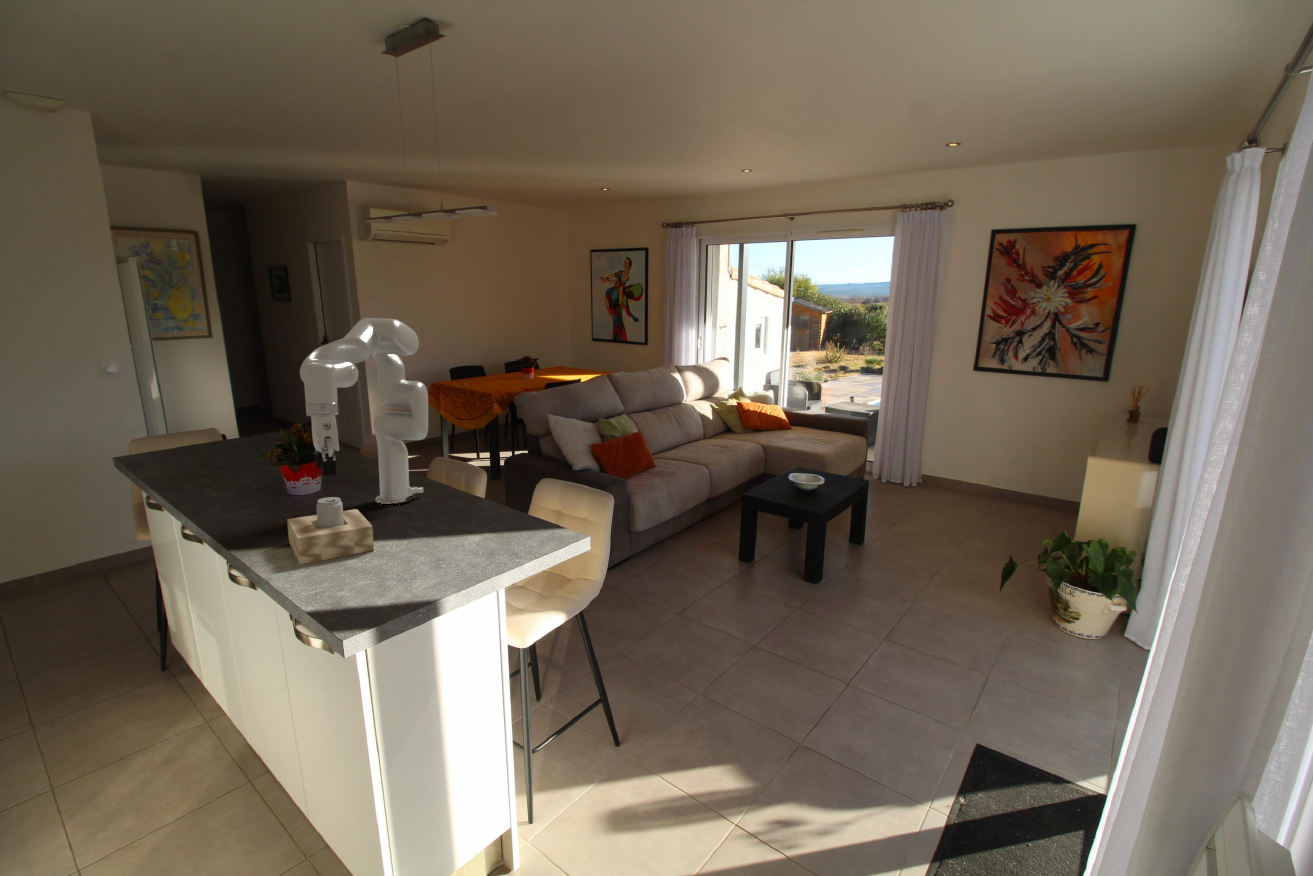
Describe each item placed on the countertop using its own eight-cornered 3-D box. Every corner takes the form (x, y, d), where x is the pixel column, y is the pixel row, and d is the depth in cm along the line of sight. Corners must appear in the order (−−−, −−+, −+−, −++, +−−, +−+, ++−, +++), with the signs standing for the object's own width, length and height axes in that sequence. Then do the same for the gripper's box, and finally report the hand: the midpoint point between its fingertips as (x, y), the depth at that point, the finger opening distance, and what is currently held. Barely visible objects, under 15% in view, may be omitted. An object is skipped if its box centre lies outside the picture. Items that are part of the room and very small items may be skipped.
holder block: (358, 531, 183) (356, 509, 181) (373, 550, 169) (372, 526, 168) (289, 543, 172) (287, 519, 170) (299, 564, 158) (297, 538, 157)
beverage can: (327, 546, 165) (324, 504, 163) (313, 541, 168) (311, 500, 166) (349, 540, 171) (347, 499, 168) (335, 535, 174) (333, 494, 172)
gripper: (344, 412, 159) (348, 476, 162) (331, 404, 172) (334, 463, 175) (312, 414, 154) (316, 480, 157) (300, 405, 167) (305, 466, 171)
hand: (326, 471), depth 166 cm, fingers open, 9 cm apart
